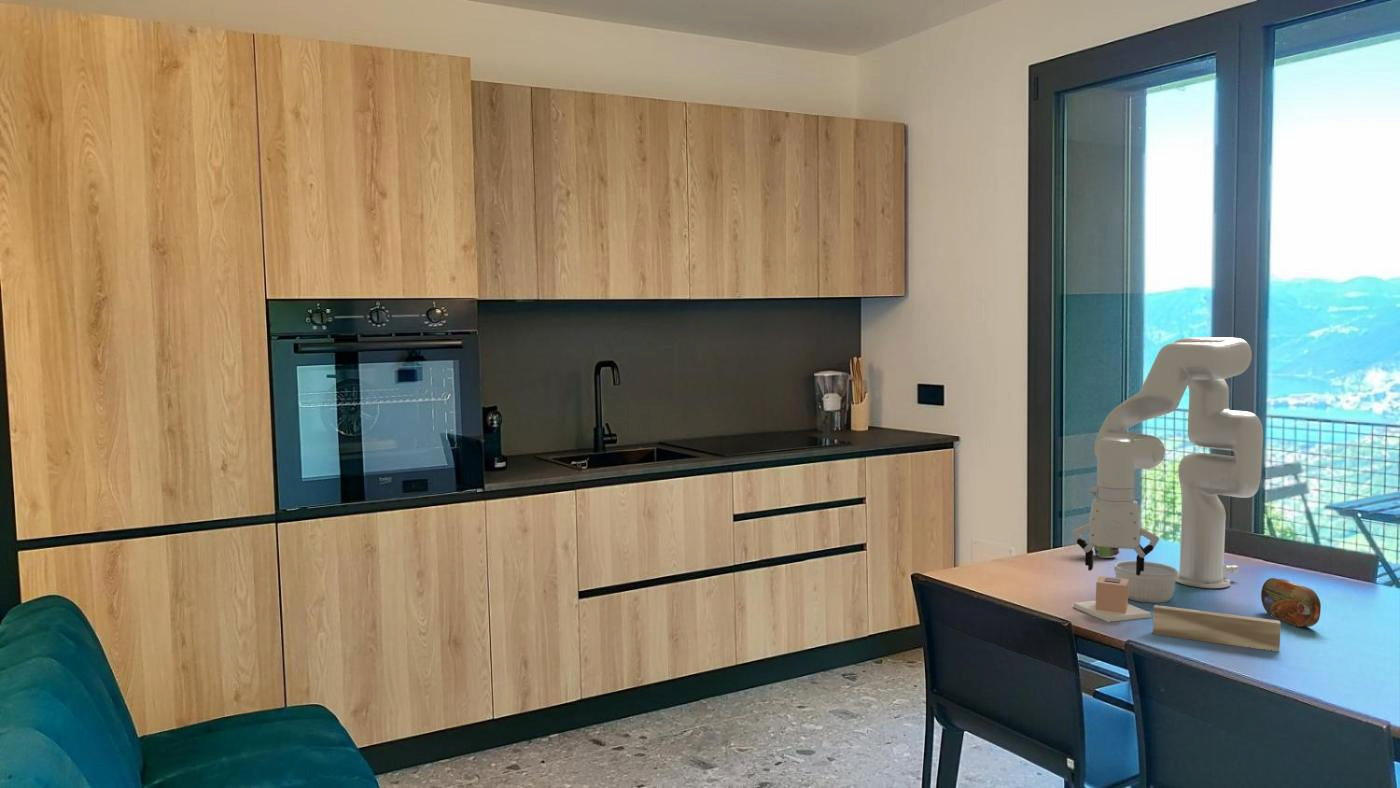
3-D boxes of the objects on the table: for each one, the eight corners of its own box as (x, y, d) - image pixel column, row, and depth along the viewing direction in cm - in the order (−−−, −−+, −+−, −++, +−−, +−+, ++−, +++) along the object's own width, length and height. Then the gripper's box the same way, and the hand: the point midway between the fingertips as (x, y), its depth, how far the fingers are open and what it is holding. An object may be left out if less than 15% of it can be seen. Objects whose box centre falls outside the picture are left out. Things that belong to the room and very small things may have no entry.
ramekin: (1135, 586, 229) (1136, 557, 228) (1188, 599, 217) (1189, 569, 217) (1101, 594, 221) (1102, 565, 221) (1154, 608, 210) (1155, 577, 210)
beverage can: (1121, 560, 253) (1122, 516, 252) (1092, 559, 254) (1093, 514, 254) (1115, 554, 259) (1117, 511, 258) (1087, 553, 261) (1088, 510, 260)
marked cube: (1098, 602, 211) (1099, 575, 211) (1127, 606, 208) (1128, 578, 208) (1095, 609, 206) (1096, 581, 205) (1125, 613, 203) (1126, 584, 203)
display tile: (1114, 603, 214) (1114, 598, 214) (1150, 617, 204) (1150, 612, 203) (1073, 607, 211) (1073, 602, 211) (1107, 621, 200) (1108, 617, 200)
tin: (1258, 610, 208) (1260, 573, 208) (1272, 610, 209) (1274, 573, 208) (1308, 632, 193) (1310, 592, 193) (1322, 632, 194) (1324, 592, 193)
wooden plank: (1153, 631, 194) (1154, 604, 194) (1278, 648, 184) (1279, 620, 183) (1152, 634, 193) (1153, 607, 192) (1279, 651, 182) (1280, 623, 182)
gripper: (1070, 494, 206) (1069, 571, 208) (1158, 500, 198) (1157, 580, 200) (1075, 488, 213) (1074, 563, 214) (1160, 494, 205) (1159, 571, 206)
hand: (1114, 571), depth 207 cm, fingers open, 9 cm apart
